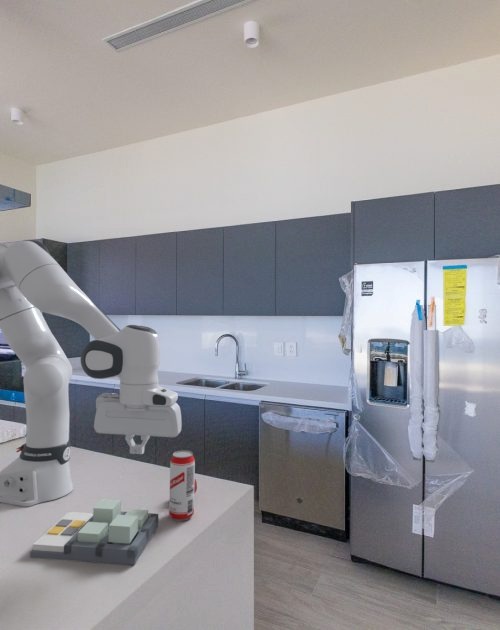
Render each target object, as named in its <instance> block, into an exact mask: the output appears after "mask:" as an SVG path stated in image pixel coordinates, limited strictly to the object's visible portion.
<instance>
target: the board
mask: <svg viewBox="0 0 500 630" xmlns="http://www.w3.org/2000/svg"><path fill="white" fill-rule="evenodd" d="M127 512H128V511H121V515H125V514H126V513H127ZM88 522H93V513H89V512H77V511H68V512H67V513H66V514H65V515H63V517H61V519H60V520H58V521H57V522H56V523H55V524H54V525H53V526H52V527H50V528H49V529H48V530H47V531H46V532H45V533H43V534H42V535H41V537H39V538H38V539H37V540H36V541H35V542H34V543H33V544H32V549H31V550H30V551H29V558H35V559H46V560H47V559H48V560H49V559H50V560H61V561H73V562H87V563H99V564H101V563H102V564H113V565H127V566H136V564H137V562H138V560H139V559H140V557H141V555H142V553H144V550H145V548H146V547H147V545H148V543H149V542H150V540H151V539H152V537H153V535H154V533H156V530H157V529H158V527H159V513H150V512H148V520H147V522H146V523H145V525H144V526H143V528H138V532H137V533H136V535H135V536H134V538H133V539H132V541H131V542H130V544H129V543H115V542H108V541H109V525H110V524H108V533H107V534H106V535H105V537H104V538H103V539H102V540H101V542H100V543H89V542H78V532H79V531H80V530H81V529H82V528H83V527H84V526H85V525H86V524H87V523H88Z"/></svg>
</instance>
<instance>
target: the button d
mask: <svg viewBox="0 0 500 630" xmlns="http://www.w3.org/2000/svg"><path fill="white" fill-rule="evenodd" d="M126 512H127V513H126V514H125V515H132V516H138V528H143V526H144V525H145V523H146V522H147V520H148V513H149V509H139V508H138V509H135V508H129V509H128V510H127V511H126Z"/></svg>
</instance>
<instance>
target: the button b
mask: <svg viewBox="0 0 500 630" xmlns="http://www.w3.org/2000/svg"><path fill="white" fill-rule="evenodd" d="M121 507H122V499H112V498H110V499H109V498H102V499H100V500H99V502H97V504H96V505H94V506H93V509H92V510H93V511H92V512H93V522H101V523H108V524H110V523H111V522H112V521H113V520H114V519H115V518H116V516H117V515H121V512H122V510H121V509H122V508H121Z"/></svg>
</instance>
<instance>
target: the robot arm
mask: <svg viewBox="0 0 500 630" xmlns="http://www.w3.org/2000/svg"><path fill="white" fill-rule="evenodd" d="M48 249H49V248H47V247H46V245H45V244H43V242H41V241H39V240H35V239H24V240H19V241H13V242H5V243H0V331H1V333H2V335H3V338H4V339H5V341H6V342H7V345H8V347H9V348H10V350H12V351H13V353H14V354H15V355H16V357H18V359H19V360H20V363H22V364H23V366H24V367H25V369H26V370H25V371H24V374H23V379H22V381H23V394H24V404H25V405H24V407H25V412H26V413H25V414H26V428H25V429H26V433H25V443H23V444H21V446H19V447H17V448H16V451H15V452H16V453H18V452H20V454H19V457H17V458H15V460H14V461H12V462H10V463H9V464H8V465H7V466H5V467H3V469H2V470H1V471H0V503H4V504H9V505H14V506H20V507H30V506H33V505H37V504H40V503H44V502H49V501H52V500H56V499H60V498H62V497H64V496H66V495H69V494H70V493H71V492H72V491H73V490H74V488H75V487H74V482H73V479H72V475H71V467H70V458H71V439H70V415H71V414H70V402H69V401H70V400H69V386H70V385H69V383H70V381H71V380H72V376H73V366H72V364H71V362H70V360H69V359H68V357H67V355H66V354H65V352H64V350H63V348H62V347H61V345H60V343H59V342H58V340H57V339H56V337H55V336H54V334H53V333H52V330H51V329H50V327H49V325H48V323H47V321H46V320H45V317H44V316H43V313H45V314H48V315H53V316H57V317H61V318H64V319H67V320H70V321H73V322H74V323H77V324H79V325H80V326H81V327H83V328H84V330H85V331H87V333H88V334H89V335H90V336H92V338H93V339H94V340H91V341H89V342H87V343H86V344H85V345H84V347H83V349H82V350H81V353H80V365H81V369H82V370H83V371H84V373H85V374H86V375H87V377H90V378H91V379H95V380H105V379H110V378H118V379H119V392H117V393H116V392H114V393H113V392H112V393H110V392H102V394H99V395H98V396H97V397H96V399H95V409H96V411H95V416H94V420H93V421H94V423H93V429H94V431H95V432H96V433H97V434H109V435H124V436H125V438H124V439H125V441H126V443H127V444H128V446H129V454H131V455H133V454H134V455H143V454H144V453H145V447H146V444H147V443H148V441H149V440H150V437H161V438H163V437H164V438H176V437H178V435H179V434H180V433H181V431H182V429H183V428H182V426H183V425H182V424H183V423H182V421H183V420H182V412H181V407H180V405H179V404H178V403H177V401H178V398H179V395H178V394H179V393H178V392H176V391H174V390H171V389H169V388H166V387H163V386H161V385H160V384H159V383H160V379H159V375H158V370H159V366H160V362H161V361H160V359H161V358H160V355H161V354H160V349H161V348H160V339H159V335H158V333H157V332H156V330H155V329H153V328H151V327H148V326H145V325H137V324H127V325H125V326H124V327H123V328H122V329H120V328H119V327H118V325H116V324H115V323H114V322H113V321H112V320H111V318H110V317H109V316H107V314H106V313H105V312H104V311H103V310H102V309H101V308H100V307H99V306H98V305H97V304H96V303H95V301H93V300H92V299H91V298H89V296H88V295H87V294H86V293H85V292H84V291H83V290H82V289H81V288H80V287H79V286H78V285H77V284H76V283H75V282H74V280H73V279H72V278H71V277H70V276H69V275H68V273H67V272H66V271H65V270H64V268H63V267H61V265H60V264H59V263H58V261H57V260H56V259H54V257H53V256H51V253H50V251H49V250H48ZM135 436H140V440H141V441H142V442H141V444H137V443H136V442H135V439H134V437H135Z"/></svg>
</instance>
